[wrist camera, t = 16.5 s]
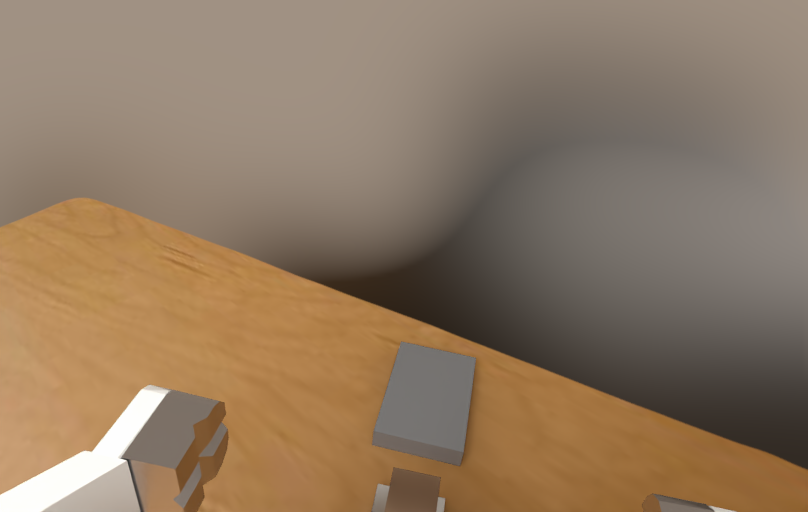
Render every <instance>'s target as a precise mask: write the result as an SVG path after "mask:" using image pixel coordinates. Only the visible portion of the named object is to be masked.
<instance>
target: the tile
mask: <svg viewBox="0 0 808 512" xmlns="http://www.w3.org/2000/svg"><path fill="white" fill-rule="evenodd" d="M475 362H476V358H474V357H470V356H465V355H461V354H456V353H451V352H447V351H442V350H438V349H433V348H428V347H424V346H419V345H415V344H410V343H405V342H401V344H400V348H399V351H398V354H397V357H396V361H395V364H394V367H393V370H392V374H391V377H390V380H389V383H388V386H387V390H386V393H385V396H384V399H383V403H382V406H381V409H380V412H379V416H378V419H377V422H376V425H375V428H374V433H373V442H372V445H374V446H379V447H383V448H387V449H391V450H395V451H399V452H403V453H408V454H412V455H416V456H420V457H424V458H428V459H432V460H436V461H441V462H445V463H449V464H453V465H457V466H460V464H461V461H462V457H463V453H464V446H465V438H466V430H467V423H468V415H469V408H470V400H471V392H472V385H473V377H474V369H475Z"/></svg>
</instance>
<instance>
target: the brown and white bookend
mask: <svg viewBox="0 0 808 512" xmlns="http://www.w3.org/2000/svg"><path fill="white" fill-rule="evenodd" d="M440 479H441V477H437V476H432V475H427V474H423V473H418V472H413V471H409V470H404V469H399V468H395V467H394V468H393V473H392V478H391V483H390V486H386V485H382V484H378V486H377V491H376V495H375V499H374V504H373V508H372V512H444V505H445V498H442V497H438V494H439V486H440Z"/></svg>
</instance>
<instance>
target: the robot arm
mask: <svg viewBox="0 0 808 512" xmlns="http://www.w3.org/2000/svg"><path fill="white" fill-rule="evenodd" d="M225 415H226V410H225V403H224V402H221V401H217V400H213V399H208V398H204V397H200V396H196V395H192V394H188V393H184V392H180V391H175V390H171V389H167V388H162V387H158V386H153V385H148V386H146V387H145V388H143V389H142V390H140V392H139V393H138V394H137V395H136V397H135V398H134V399H133V400H132V402H131V403H130V404H129V406H128V407H127V408H126V409H125V411H124V412H123V413H122V414H121V416H120V417H119V418H118V419H117V421H116V422H115V423H114V425H113V426H112V427H111V428H110V430H109V431H108V432H107V433H106V435H105V436H104V437H103V438H102V440H101V441H100V442H99V444H98V445H97V446H96V447H95V449H94V450H93V451H92V452H90V451H85V450H84V451H82V452H81V453H79V454H77V455H75V456H73V457H71V458H69V459H67V460H65V461H64V462H62V463H60V464H58V465H56V466H54V467H52V468H50V469H48V470H47V471H45V472H43V473H41V474H39V475H37V476H35V477H33V478H31V479H30V480H28V481H26V482H24V483H22V484H20V485H18V486H16V487H14V488H13V489H11V490H9V491H7V492H5V493H3V494H1V495H0V512H197V511H198V509H199V507H200V505H201V503H202V501H203V499H204V498H205V497H204V490H203V485H204V484H205V483H207V482H208V481H210V480H211V479H213V478H214V477H216V475H217V473H218V471H219V469H220V467H221V465H222V463H223V460H224V457H225V454H226V451H227V446H228V429H227V428H226V427H225V425H224V424H223V423H222V420H223V419H224V417H225ZM642 508H643V512H736V511H732V510H727V509H722V508H718V507H713V506H707V505H706V504H702V503H697V502H692V501H687V500H682V499H677V498H672V497H667V496H662V495H657V494H650V495H648V496H647V497H646V498H645V500H644V502H643V503H642Z"/></svg>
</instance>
